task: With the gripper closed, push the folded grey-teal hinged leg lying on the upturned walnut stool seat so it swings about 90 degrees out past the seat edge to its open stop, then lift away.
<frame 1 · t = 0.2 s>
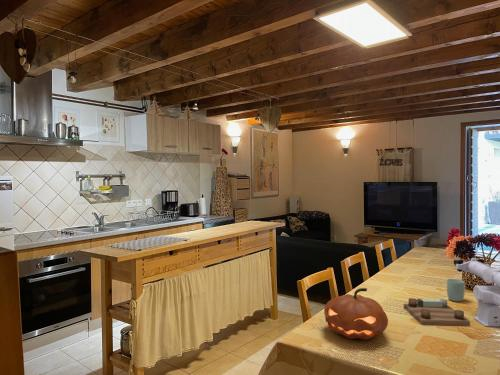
hand: (462, 261, 176), 21 cm above the table, tool horizontal, fingers open, 7 cm apart
swing leg: (432, 302, 170), point 4 cm above the table, hinge at 0.0°
stool seat: (434, 316, 163), on the table
cup: (455, 300, 184), on the table
pumpkin: (354, 333, 145), on the table
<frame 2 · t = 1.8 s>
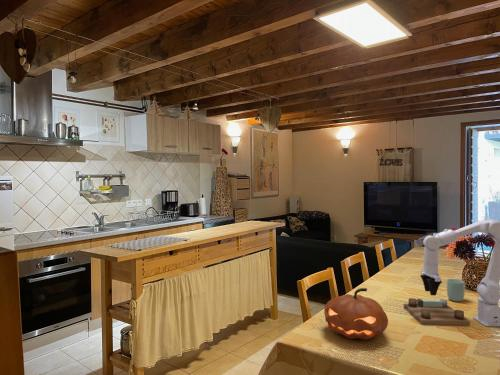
hand: (430, 293, 163), 10 cm above the table, tool pointing down, fingers open, 5 cm apart
nothing on the table moved.
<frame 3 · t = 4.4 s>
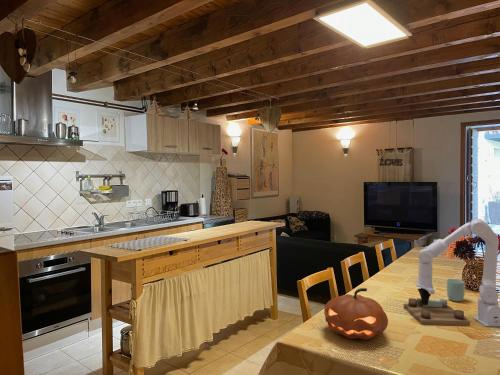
hand: (424, 304, 169), 3 cm above the table, tool pointing down, fingers closed, pressing on swing leg
swing leg: (432, 302, 170), point 4 cm above the table, hinge at 2.3°, touching gripper
everything else where it was.
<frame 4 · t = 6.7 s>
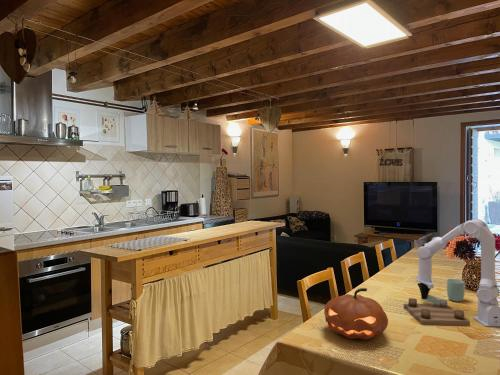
hand: (424, 298, 177), 3 cm above the table, tool pointing down, fingers closed, pressing on swing leg
swing leg: (434, 299, 174), point 4 cm above the table, hinge at 64.9°, touching gripper
everything else where it was.
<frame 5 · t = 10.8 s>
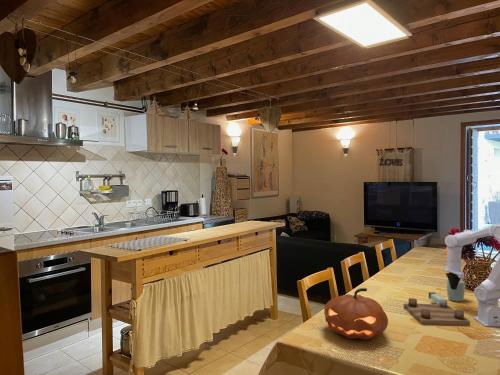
hand: (453, 289, 172), 9 cm above the table, tool pointing down, fingers closed
swing leg: (438, 299, 174), point 4 cm above the table, hinge at 87.8°
everything else where it was.
at the end: swing leg at +88° (first picture: +0°) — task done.
